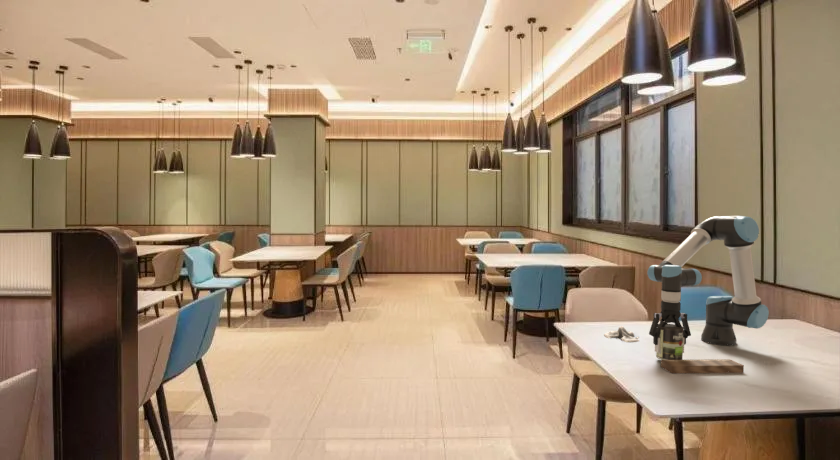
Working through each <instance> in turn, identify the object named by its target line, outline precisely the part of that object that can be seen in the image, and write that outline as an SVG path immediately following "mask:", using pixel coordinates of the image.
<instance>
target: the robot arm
mask: <svg viewBox="0 0 840 460" xmlns="http://www.w3.org/2000/svg"><path fill="white" fill-rule="evenodd" d="M759 234H760V229H759V225H758V222H757V221H756V220H755V219H754V218H753V217H751V216H745V215H715V216H712V217H709V218H706V219H705V220H703V221H701V222H699V223H698V224H697V225H696V226H695V227H694V228H692V230H691V231H690V235H689V236H688V237H686V238H685V239H684V240H683V241H682V242H681V243H680V244H679V245H678V246H677V247H676V248H675V249H673V251H672V252H671V253H670V254H668V256H667V257H665V259H663V260H662V261H660V263H659V264H652V265H650V266H649V267H648V269H647V271H646V272H647V277H648V279H649V280H650V281H653V282H657V283H661V291H660V292H661V293H660V295H661V296H660V300H661V301H660V312H659V313H656V312H653V319H652V322H651V326H650V328H649V333H648V334H649V335H650V336H652V337H653V339H652V340H653V341H652V343H653V345H654V352H655V353H656V352H657V353H660V338H659V335H660V334H661V328H658V327H657V326H660V327H665V325H666V324H674V325H676V326H677V327H684V330H683V354H685V345H686V344H687V338H688V337H691V336H692V333H691V330H690V326H689V322H688V314H687V313H685V312H681V310H682V309H681V307H682V306H681V304H682V303H681V300H682V287H693V286H697V285H699V284H701V282H702V279H703V278H702V277H703V275H702V273H701V272H700V271H699V270H698V269H696V268H684V267H683V266H684V265H685V264H686V263H687V262H688V261H689V260H690V259H692V258H693V256H694V255H696V253H698V252H699V251H700V250H701V249H702V248H703V247H704V246H706V245H708V244H710V243H711V242H714V241H723V244H724V245H723V246H724V247H726V249H728V253H729V261H730V270H731V277H732V283H733V284H732V285H733V291H734V293H733V294H734V296H731V295H712V296H711V295H710V296H708V297H706V301H705V302H706V303H705V325H704V328H703V331H702V333H701V335H700V337H701V338H700V339H701V340H700V341H702V342H705V343H709V344H712V345H719V346H736V345H737V337H736V334H735V330H734V328H733V326H734V325H737V326H739V327H740V326H741V327H744V328H745V327H746V328H748V329H761V328H762V327H764V326H765V324H766V323H767V321H768V318H769V315H770V314H769V308H768V306H767V305H766V304H762V298H761V297H759V296H758V295H757V288H756V281H755V280H756V279H755V273H754V272H755V271H754V264H753V263H754V262H753V255H752V246H753V245H754V244H755V242H756V240H758V237H759ZM680 319H681V321H680ZM658 324H659V325H658Z"/></svg>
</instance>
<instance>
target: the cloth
mask: <svg viewBox="0 0 840 460" xmlns="http://www.w3.org/2000/svg"><path fill="white" fill-rule="evenodd" d="M603 336H604V337H605V338H606V339H620V340H622V342H624V343H634V342H635V343H637V342H640V340H639V339H640V337H638V336H636V337H635V333H634V332H633V331H628V330H627V329H626V328H625V327H624V326H623V325H621V326H619V327H618V329H617V330H610V331H608V332H605V333H604V334H603Z"/></svg>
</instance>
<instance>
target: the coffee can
mask: <svg viewBox="0 0 840 460" xmlns="http://www.w3.org/2000/svg"><path fill="white" fill-rule="evenodd" d="M658 325H659V323H658ZM657 327H658V328H661V334H660V335H659V338H660V353H657V352H655V356H656V358H657V359H659V360H660V361H661V360H684V359H683V356H684V355H683V354H684V353H683V330H684V327H683V326H682V327H677V326H676V325H675V323H667V324H666V325H665V327H660V326H657Z"/></svg>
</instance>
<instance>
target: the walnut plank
mask: <svg viewBox="0 0 840 460" xmlns="http://www.w3.org/2000/svg"><path fill="white" fill-rule="evenodd" d="M660 367H661V368H662V369H663V368H664V370H666V371H667V372H669V373H670V374H731V373H733V374H736V373H738V374H739V373H740V374H743V373H744V369H745V368H744V365H743V364H742V363H740V362H737V361H735V360H733V359H730V358H727V359H720V358H719V359H718V358H717V359H714V358H713V359H709V358H708V359H705V358H704V359H683V360H661V359H660Z"/></svg>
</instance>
